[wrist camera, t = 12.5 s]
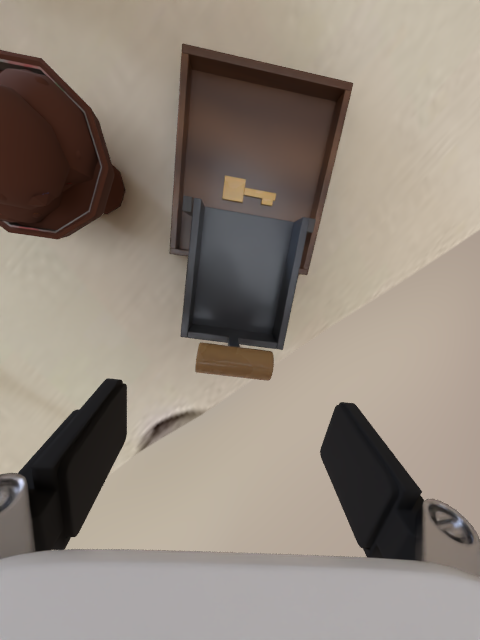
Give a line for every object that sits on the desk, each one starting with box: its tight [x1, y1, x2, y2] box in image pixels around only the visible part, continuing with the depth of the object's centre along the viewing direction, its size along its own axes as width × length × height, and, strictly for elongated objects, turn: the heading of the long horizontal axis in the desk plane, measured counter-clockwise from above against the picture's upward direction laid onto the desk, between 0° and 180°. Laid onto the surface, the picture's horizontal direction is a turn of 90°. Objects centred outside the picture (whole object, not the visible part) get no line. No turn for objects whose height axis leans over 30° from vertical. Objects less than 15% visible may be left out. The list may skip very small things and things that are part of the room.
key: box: [222, 175, 276, 206], centre depth 25 cm, size 6×2×1 cm, turn 81°
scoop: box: [181, 198, 310, 380], centre depth 18 cm, size 12×9×8 cm
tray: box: [170, 44, 353, 275], centre depth 22 cm, size 17×15×7 cm
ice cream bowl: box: [0, 50, 125, 239], centre depth 18 cm, size 11×11×15 cm
